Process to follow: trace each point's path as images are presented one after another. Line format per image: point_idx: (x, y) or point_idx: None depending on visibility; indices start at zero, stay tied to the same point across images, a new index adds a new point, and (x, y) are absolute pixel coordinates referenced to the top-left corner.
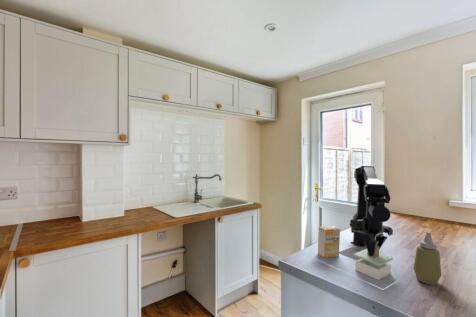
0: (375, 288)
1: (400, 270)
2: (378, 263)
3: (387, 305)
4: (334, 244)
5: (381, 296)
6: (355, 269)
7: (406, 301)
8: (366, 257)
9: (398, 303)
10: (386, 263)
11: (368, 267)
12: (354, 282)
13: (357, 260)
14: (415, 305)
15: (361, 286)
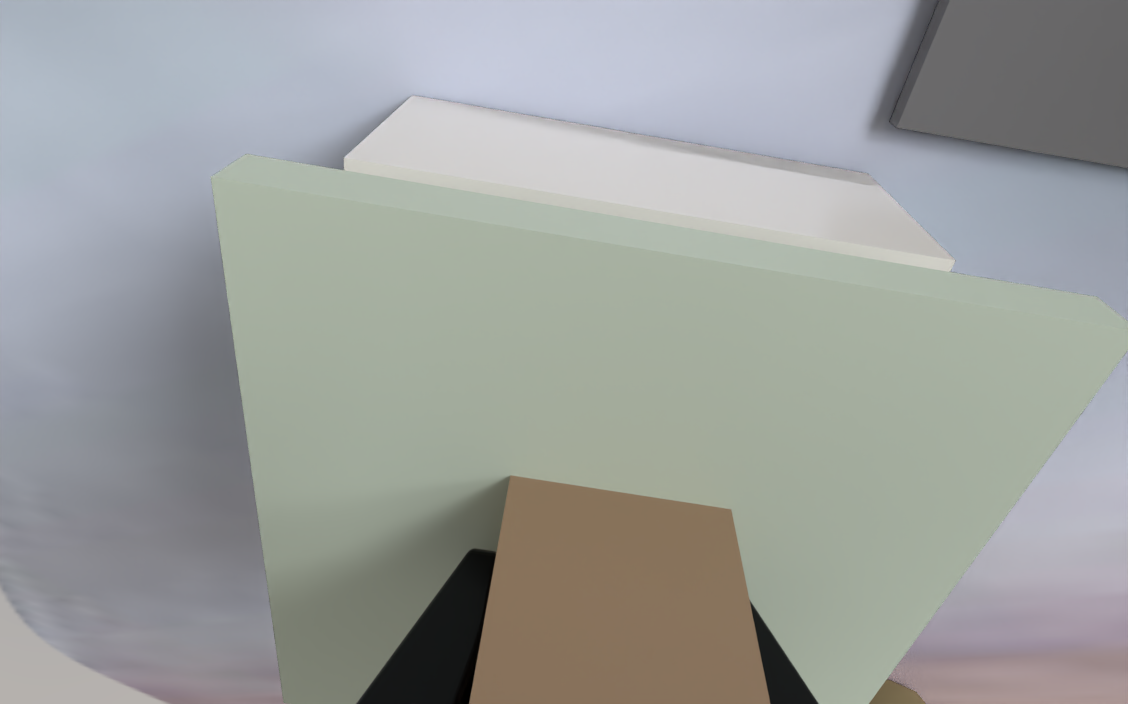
0: (184, 457)
1: (986, 550)
2: (282, 678)
3: (11, 580)
4: None
5: (94, 526)
6: (402, 107)
7: (247, 654)
8: (324, 500)
9: (145, 624)
10: None
11: None
12: (29, 238)
13: (421, 181)
14: (255, 692)
15: (43, 339)
